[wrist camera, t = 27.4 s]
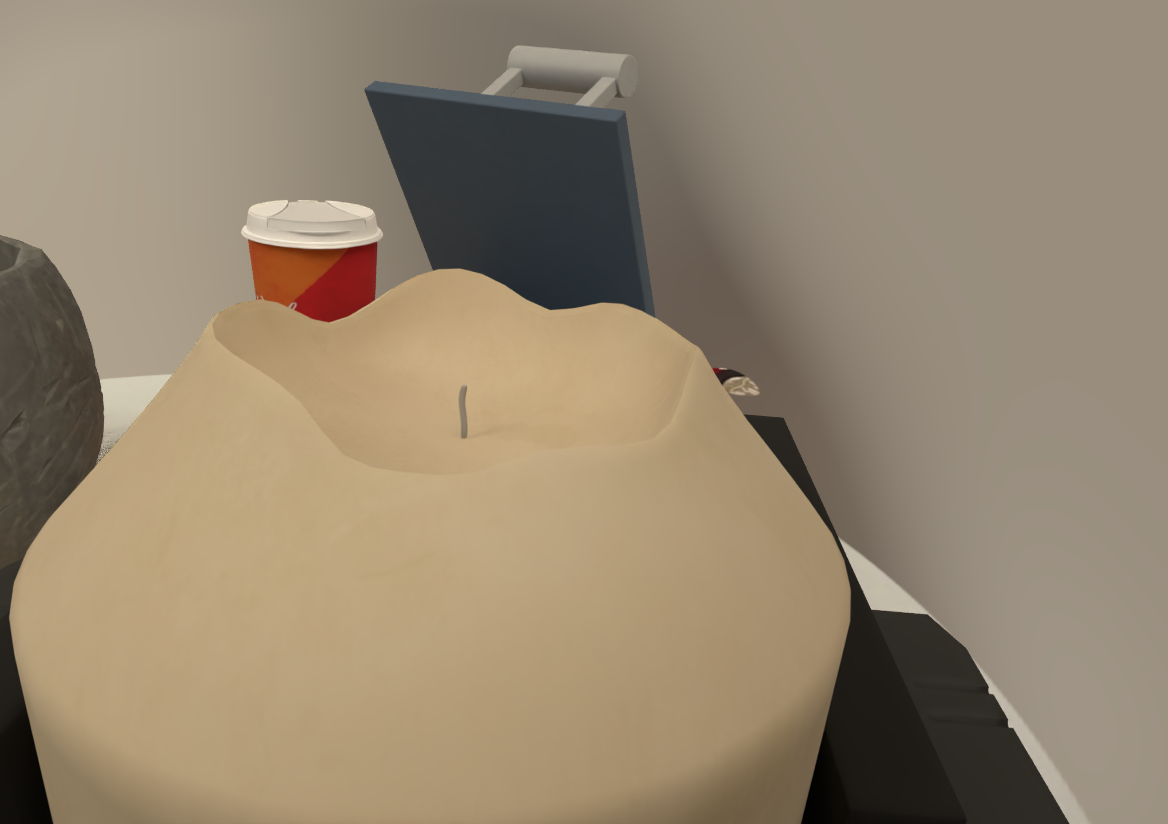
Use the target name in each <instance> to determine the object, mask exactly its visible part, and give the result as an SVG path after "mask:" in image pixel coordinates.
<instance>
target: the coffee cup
mask: <svg viewBox="0 0 1168 824" xmlns="http://www.w3.org/2000/svg"><path fill="white" fill-rule="evenodd" d="M241 234H242V235H243V236H244V237H245V238H247V239H248V242H249V249H250V257H251V264H252V271H253V279H254V286H255V293H256V300H260V299H261V300H266V301H272V302H277V303H280V304H282V305H284V306H286V307H289V308H291V309H293V310H295V311H297V312H299V313H301V314H303V315H305V316H307V317H309V318H311V319H314V320H319V321H323V322H328V323H330V322H333V321H336V320H339V319H342V318H345V317H348V316H350V315H351V314H353V313H355V312H357V311H358V310H360V309H362V308H363V307H365V306H367V305H368V304H370V303H371V302H373V301H375V288H376V262H377V241H379V240H380V239H381V238H382V237H383V233H382V231H381V230H380V229H379V228H378V227H377V223H376V217H375V214H374V212H373V211H372V210H371V209H369V208H367V207H364V206H361V205H356V204H351V203H344V202H335V201H326V202H325V203H323V202H317V200H297V202H290V203H289V206H288V200H283V201H282V200H281V201H271V202H264V203H260V204H256V205H254V206H251V207H250V209H249V211H248V219H247V225H245V226H244V227H243V229H242V231H241Z"/></svg>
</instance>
